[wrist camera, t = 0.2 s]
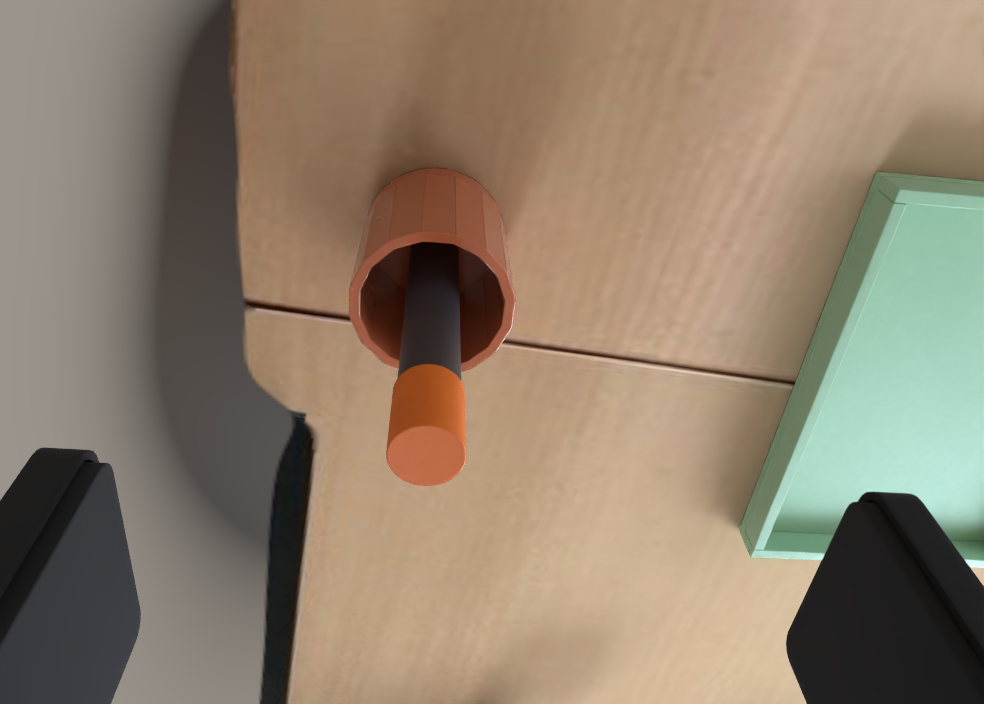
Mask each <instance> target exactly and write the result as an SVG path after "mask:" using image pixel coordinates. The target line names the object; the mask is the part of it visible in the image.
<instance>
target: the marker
mask: <svg viewBox="0 0 984 704" xmlns="http://www.w3.org/2000/svg"><path fill="white" fill-rule="evenodd" d="M386 458H387V462H388V465H389V467H390V468H391V470H392V471H393V472H394V473H395V474H396V475H397V476H398V477H399V478H400V479H402V480H404V481H406V482H408V483H411V484H414V485H419V486H434V485H439V484H442V483H445V482H447V481H449V480H451V479H452V478H454V477H455V476H456V475H457V474H458V473H459V472H460V471H461V470H462V468H463V466H464V464H465V461H466V424H465V391H464V387H463V384H462V382H461V345H460V294H459V247H458V246H456V245H454V244H448V243H436V242H423V241H422V242H419V243H415V244H412V245H411V249H410V259H409V269H408V279H407V289H406V299H405V309H404V319H403V329H402V339H401V349H400V359H399V369H398V379H397V380H396V382H395V384H394V388H393V395H392V405H391V414H390V423H389V433H388V442H387V451H386Z"/></svg>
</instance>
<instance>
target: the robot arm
mask: <svg viewBox="0 0 984 704" xmlns="http://www.w3.org/2000/svg"><path fill="white" fill-rule="evenodd" d="M140 615H141V613H140V606H139V601H138V596H137V590H136V585H135V580H134V575H133V570H132V565H131V560H130V555H129V550H128V545H127V540H126V535H125V529H124V525H123V519H122V514H121V509H120V504H119V499H118V494H117V488H116V483H115V479H114V473H113V470H112V467H111V466H110V464H108V463H99V461H98V458H97V455H96V454H95V453H94V452H93V451H91V450H77V449H58V448H40V449H38V450H37V451H36V452H35V453H34V454H33V455H32V456H31V457H30V459H29V460H28V462H27V463H26V465H25V466H24V468H23V469H22V470H21V472H20V473H19V475H18V476H17V478H16V479H15V481H14V482H13V483H12V485H11V486H10V488H9V489H8V491H7V492H6V493H5V495H4V496H3V498H2V499H1V501H0V704H111V702H112V699H113V697H114V694H115V692H116V689H117V687H118V684H119V682H120V679H121V677H122V674H123V671H124V669H125V667H126V664H127V662H128V659H129V657H130V654H131V652H132V649H133V647H134V644H135V642H136V639H137V636H138V632H139V626H140ZM786 646H787V654H788V658H789V661H790V664H791V666H792V669H793V671H794V674H795V676H796V678H797V681H798V683H799V686H800V688H801V690H802V693H803V695H804V698H805V700H806V702H807V704H984V586H983V585H982V583H981V582H980V581H979V579H978V578H977V577H976V575H975V574H974V572H973V571H972V570H971V568H970V567H969V565H968V564H967V563H966V561H965V560H964V559H963V557H962V556H961V554H960V553H959V552H958V550H957V549H956V548H955V546H954V545H953V543H952V542H951V541H950V539H949V538H948V536H947V535H946V534H945V532H944V531H943V530H942V528H941V527H940V525H939V524H938V523H937V521H936V520H935V518H934V517H933V516H932V514H931V513H930V512H929V510H928V509H927V507H926V506H925V505H924V503H923V502H922V501H921V500H920V499H919V498H918V497H917V496H915V495H913V494H910V493H891V492H866V493H864V494H863V495H862V496H861V497H860V499H859V500H858V502H852V503H851V504H849V505H848V507H847V508H846V510H845V512H844V515H843V517H842V519H841V521H840V523H839V525H838V527H837V529H836V531H835V534H834V536H833V538H832V540H831V542H830V544H829V546H828V548H827V551H826V553H825V555H824V557H823V559H822V561H821V563H820V565H819V568H818V570H817V572H816V574H815V576H814V578H813V580H812V582H811V585H810V587H809V589H808V591H807V593H806V595H805V597H804V599H803V602H802V604H801V606H800V608H799V610H798V612H797V614H796V616H795V619H794V621H793V623H792V625H791V627H790V629H789V631H788V635H787V641H786Z"/></svg>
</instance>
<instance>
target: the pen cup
mask: <svg viewBox="0 0 984 704" xmlns="http://www.w3.org/2000/svg"><path fill="white" fill-rule="evenodd" d="M422 241H423V242H436V243H448V244H454V245H456V246H458V247H459V294H460V345H461V372H462V371H466V370H469V369H472V368H474V367H475V366H477V365H478V364H480V363H481V362H482V361H484V360H485V359H487V358H488V357H490V356H491V355H492V354H494V353H495V352H496V351H497V350H498V348H499V347H500V345H501V344H502V342H503V341H504V339H505V337H506V336H507V334H508V333H509V331H510V330H511V327H512V323H513V316H514V309H515V302H516V300H515V292H514V285H513V278H512V271H511V264H510V257H509V250H508V243H507V236H506V232H505V229H504V223H503V219H502V215H501V213H500V210H499V208H498V206H497V204H496V202H495V200H494V199H493V198H492V196H491V195H490V194H489V192H488V191H487V190H486V189H485V188H484V187H483V186H481V185H480V184H479V183H477V182H476V181H475V180H473V179H471V178H470V177H468V176H466V175H463V174H461V173H459V172H455V171H452V170H447V169H441V168H428V169H420V170H416V171H412V172H409V173H406V174H404V175H402V176H400V177H398V178H396V179H394V180H393V181H392V182H390V183H389V184H388V185H387V186H385V187H384V188H383V189H382V190H381V191H380V193H379V194H378V195H377V197H376V198H375V200H374V201H373V203H372V205H371V207H370V210H369V212H368V216H367V219H366V221H365V223H364V227H363V232H362V236H361V240H360V245H359V249H358V253H357V258H356V262H355V266H354V271H353V275H352V279H351V284H350V288H349V316H350V319H351V321H352V324H353V326H354V328H355V330H356V332H357V335H358V337H359V339H360V341H361V342H362V344H363V345H364V346H365V347H367V348H368V349H369V350H370V351H371V352H372V353H373V354H374V355H375V356H376V357H377V358H378V359H379V360H381V361H382V362H384V363H385V364H387V365H389V366H392V367H394V368H397V369H399V359H400V349H401V339H402V329H403V319H404V309H405V299H406V289H407V279H408V269H409V259H410V249H411V245H412V244H415V243H419V242H422Z"/></svg>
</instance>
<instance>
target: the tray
mask: <svg viewBox="0 0 984 704" xmlns="http://www.w3.org/2000/svg"><path fill="white" fill-rule="evenodd" d="M866 492H891V493H910V494H913V495H915V496H917V497H918V498H919V499H920V500H921V501H922V502H923V503H924V505H925V506H926V507H927V509H928V510H929V512H930V513H931V514H932V516H933V517H934V518H935V520H936V521H937V523H938V524H939V525H940V527H941V528H942V530H943V531H944V532H945V534H946V535H947V536H948V538H949V539H950V541H951V542H952V543H953V545H954V546H955V548H956V549H957V550H958V552H959V553H960V554H961V556H962V557H963V559H964V560H965V561H966V563H967V564H968V565H969V567H984V182H983V181H973V180H962V179H951V178H941V177H930V176H920V175H909V174H899V173H888V172H876V174H875V176H874V179H873V181H872V184H871V187H870V189H869V192H868V194H867V197H866V200H865V202H864V205H863V208H862V210H861V213H860V215H859V218H858V221H857V223H856V226H855V228H854V231H853V234H852V236H851V239H850V241H849V244H848V247H847V249H846V252H845V254H844V257H843V260H842V262H841V265H840V267H839V270H838V273H837V275H836V278H835V280H834V283H833V286H832V288H831V291H830V294H829V296H828V299H827V301H826V304H825V307H824V309H823V312H822V314H821V317H820V320H819V322H818V325H817V327H816V330H815V333H814V335H813V338H812V340H811V343H810V346H809V348H808V351H807V353H806V356H805V359H804V361H803V364H802V366H801V369H800V372H799V374H798V377H797V380H796V382H795V385H794V387H793V390H792V393H791V395H790V398H789V400H788V403H787V406H786V408H785V411H784V413H783V416H782V419H781V421H780V424H779V426H778V429H777V432H776V434H775V437H774V439H773V442H772V445H771V447H770V450H769V452H768V455H767V458H766V460H765V463H764V466H763V468H762V471H761V473H760V476H759V479H758V481H757V484H756V486H755V489H754V492H753V494H752V497H751V499H750V502H749V505H748V507H747V510H746V512H745V515H744V518H743V520H742V523H741V525H740V528H739V531H740V533H741V536H742V538H743V540H744V543H745V545H746V548H747V550H748V552H749V555H750V557H761V558H783V559H805V560H822V559H823V557H824V555H825V553H826V551H827V548H828V546H829V544H830V542H831V540H832V538H833V536H834V534H835V531H836V529H837V527H838V525H839V523H840V521H841V519H842V517H843V515H844V512H845V510H846V508H847V507H848V505H849V504H851V503H852V502H858V500H859V499H860V497H861V496H862V495H863V494H864V493H866Z"/></svg>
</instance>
